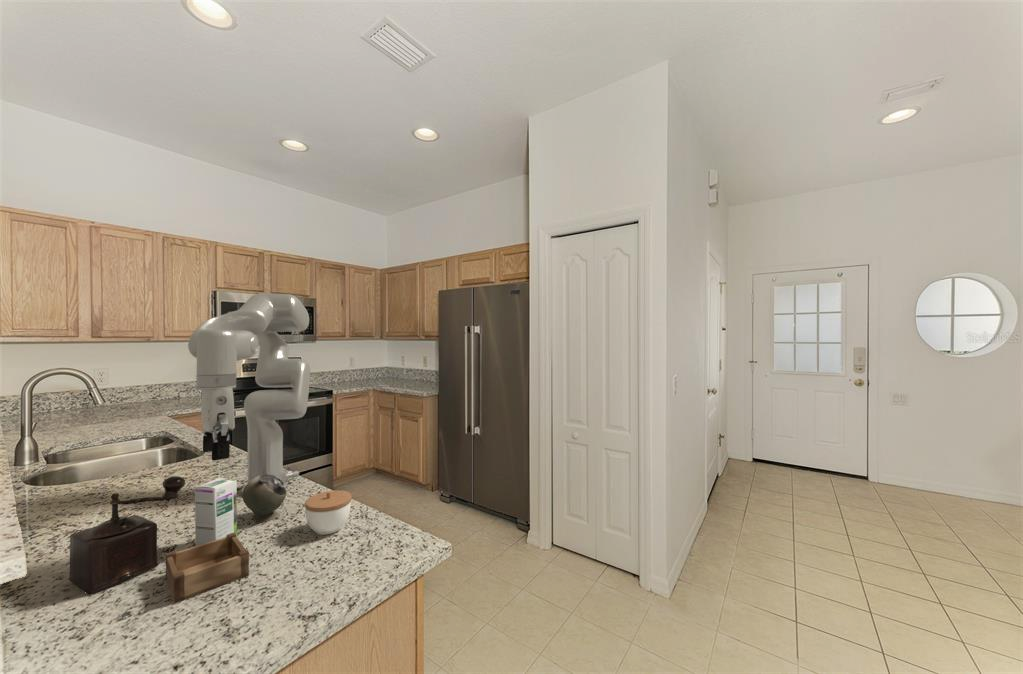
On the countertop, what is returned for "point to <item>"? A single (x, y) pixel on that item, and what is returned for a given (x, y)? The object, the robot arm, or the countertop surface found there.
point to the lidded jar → (328, 511)
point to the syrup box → (215, 510)
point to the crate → (206, 567)
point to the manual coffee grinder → (117, 545)
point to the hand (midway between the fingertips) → (215, 455)
